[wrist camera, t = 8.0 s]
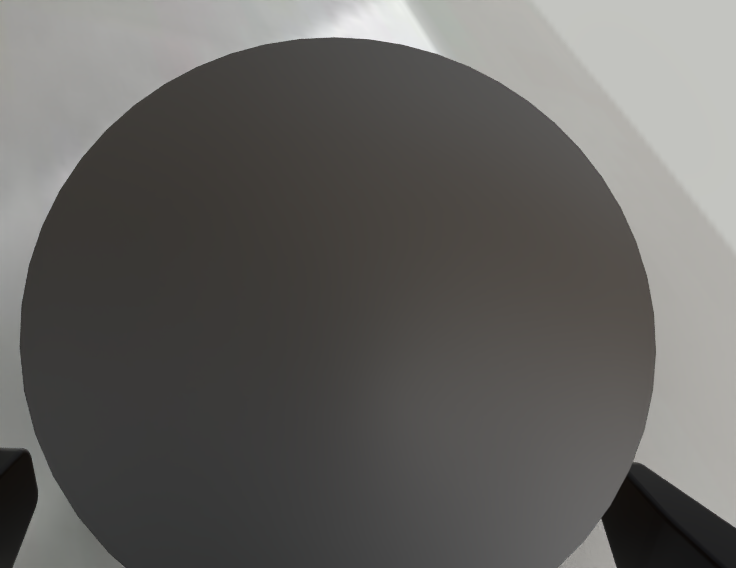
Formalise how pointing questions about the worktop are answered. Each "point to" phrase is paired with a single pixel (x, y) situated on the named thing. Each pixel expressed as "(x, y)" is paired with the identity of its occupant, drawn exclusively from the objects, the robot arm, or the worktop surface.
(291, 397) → the brown wooden canister
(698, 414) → the worktop surface
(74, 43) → the worktop surface
